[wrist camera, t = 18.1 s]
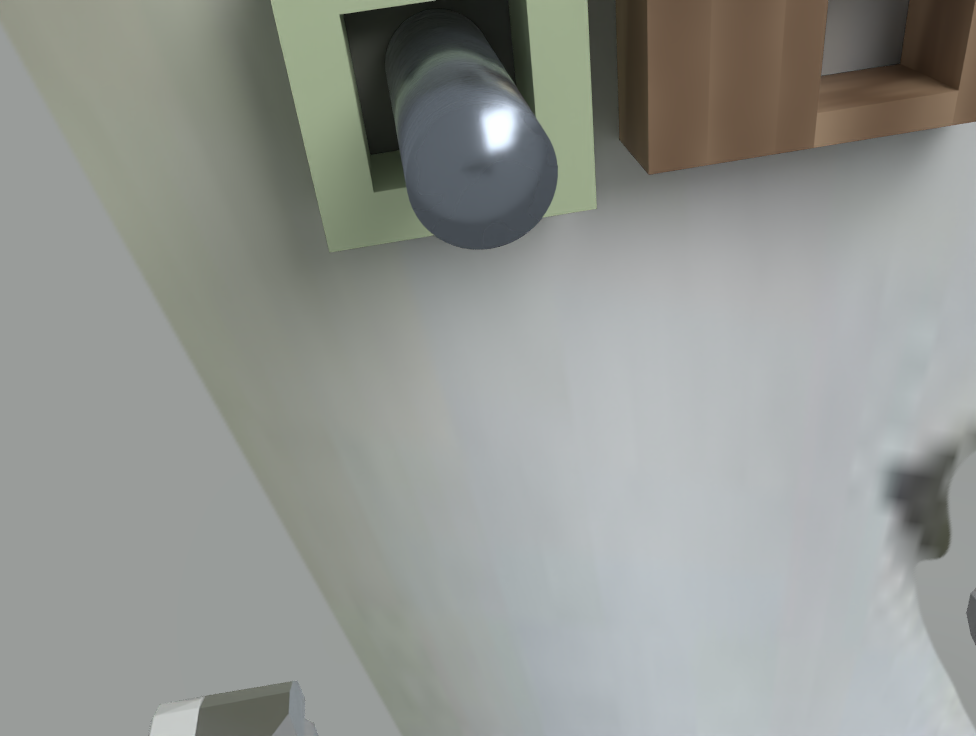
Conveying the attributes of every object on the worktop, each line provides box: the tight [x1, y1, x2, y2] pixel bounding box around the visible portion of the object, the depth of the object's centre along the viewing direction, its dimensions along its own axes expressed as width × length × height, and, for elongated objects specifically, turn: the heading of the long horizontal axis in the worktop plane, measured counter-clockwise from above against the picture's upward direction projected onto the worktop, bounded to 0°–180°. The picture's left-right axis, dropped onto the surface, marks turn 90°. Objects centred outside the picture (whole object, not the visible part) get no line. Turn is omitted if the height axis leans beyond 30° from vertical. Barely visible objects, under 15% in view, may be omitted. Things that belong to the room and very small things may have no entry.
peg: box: [385, 9, 558, 249], centre depth 28 cm, size 4×4×12 cm
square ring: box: [270, 0, 597, 253], centre depth 31 cm, size 10×10×4 cm
